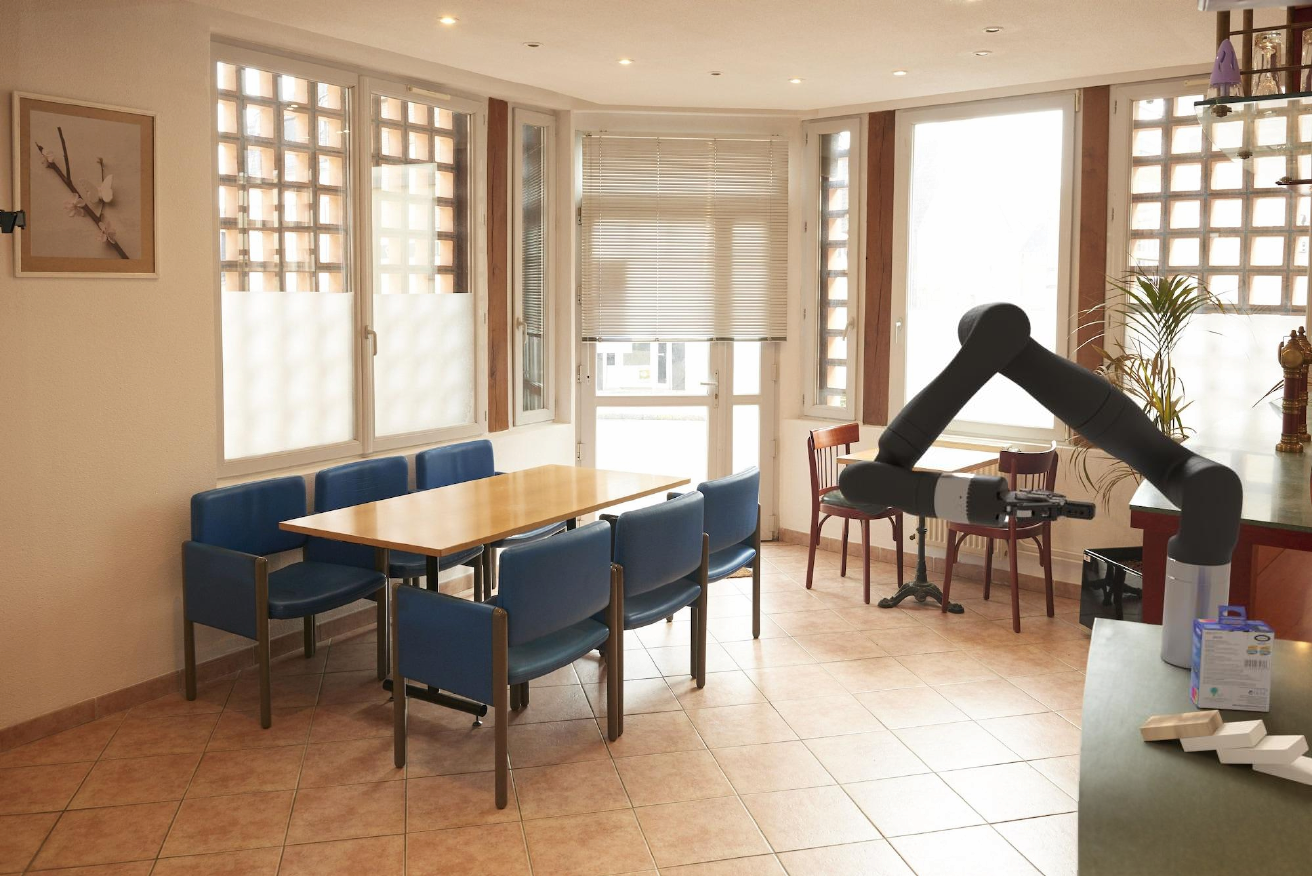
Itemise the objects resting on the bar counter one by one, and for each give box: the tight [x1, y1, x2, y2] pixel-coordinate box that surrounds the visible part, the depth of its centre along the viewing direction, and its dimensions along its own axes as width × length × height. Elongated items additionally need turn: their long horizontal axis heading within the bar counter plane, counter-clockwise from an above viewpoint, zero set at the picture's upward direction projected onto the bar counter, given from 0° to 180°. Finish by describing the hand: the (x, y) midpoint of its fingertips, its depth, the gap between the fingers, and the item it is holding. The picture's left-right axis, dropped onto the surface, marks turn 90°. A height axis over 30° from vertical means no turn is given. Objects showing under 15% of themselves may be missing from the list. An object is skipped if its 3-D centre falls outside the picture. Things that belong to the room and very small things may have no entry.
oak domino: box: [1139, 709, 1224, 742], centre depth 145 cm, size 5×2×9 cm
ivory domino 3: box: [1252, 755, 1312, 786], centre depth 137 cm, size 5×2×9 cm
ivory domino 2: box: [1216, 735, 1309, 764], centre depth 137 cm, size 5×2×9 cm
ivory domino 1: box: [1179, 719, 1268, 753], centre depth 141 cm, size 5×2×9 cm
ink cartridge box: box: [1189, 605, 1276, 713], centre depth 157 cm, size 10×6×14 cm, turn 78°
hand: (1094, 511), depth 150 cm, fingers closed
